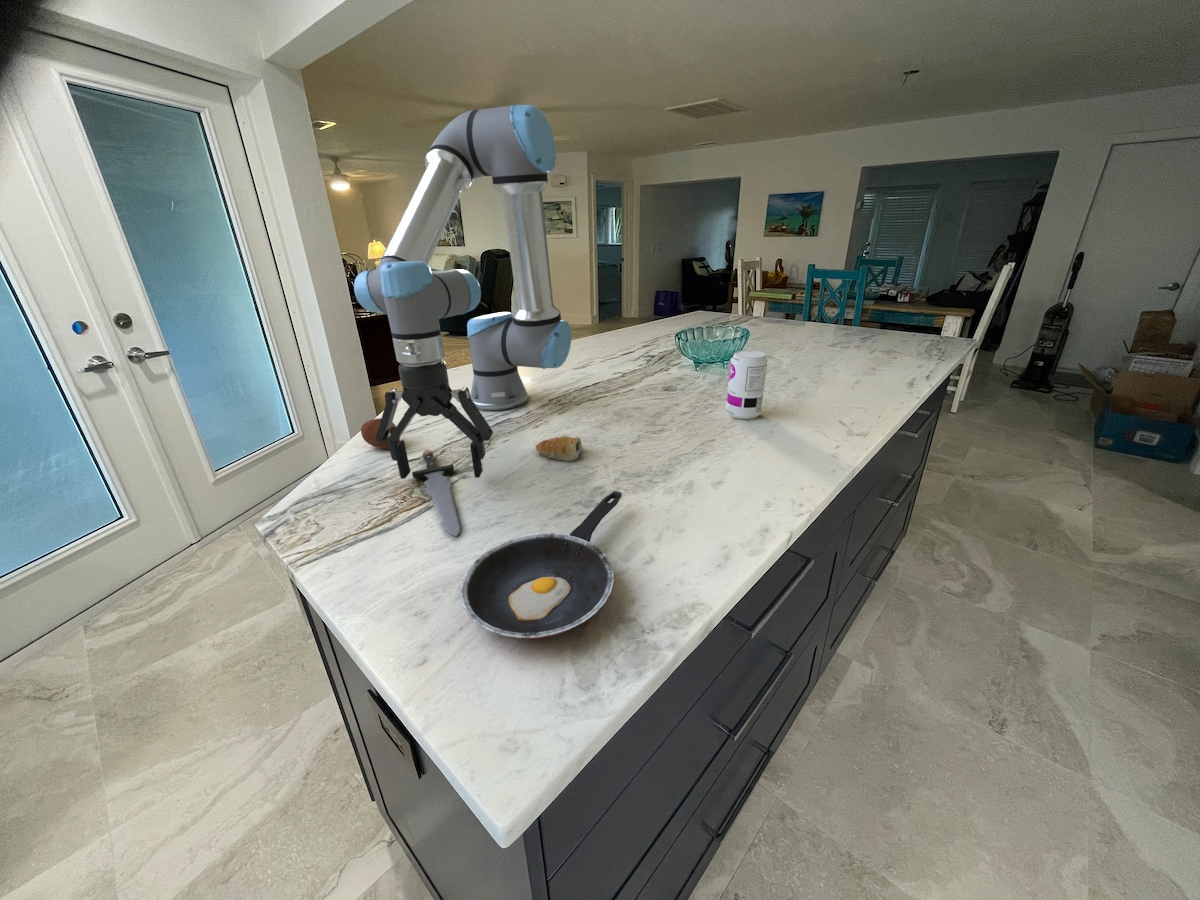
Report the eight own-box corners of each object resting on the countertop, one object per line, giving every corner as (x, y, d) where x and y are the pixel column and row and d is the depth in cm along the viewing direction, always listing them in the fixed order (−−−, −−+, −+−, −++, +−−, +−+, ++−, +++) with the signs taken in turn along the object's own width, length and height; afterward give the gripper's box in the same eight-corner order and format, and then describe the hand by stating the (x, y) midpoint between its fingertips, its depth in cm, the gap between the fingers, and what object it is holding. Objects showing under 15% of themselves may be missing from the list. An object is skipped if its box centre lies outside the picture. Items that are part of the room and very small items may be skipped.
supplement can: (723, 417, 113) (729, 356, 107) (728, 406, 120) (734, 348, 113) (758, 421, 110) (766, 359, 104) (761, 410, 117) (769, 350, 111)
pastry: (532, 459, 95) (530, 442, 94) (542, 445, 101) (541, 429, 100) (576, 462, 93) (575, 445, 92) (584, 448, 99) (583, 432, 98)
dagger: (439, 452, 99) (437, 443, 98) (498, 522, 75) (497, 511, 74) (402, 462, 95) (400, 453, 94) (452, 538, 71) (450, 527, 70)
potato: (376, 457, 98) (369, 428, 95) (359, 445, 104) (351, 418, 101) (408, 446, 102) (402, 419, 100) (389, 435, 108) (383, 409, 106)
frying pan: (430, 621, 56) (424, 597, 55) (570, 497, 81) (568, 478, 80) (563, 684, 48) (560, 658, 46) (672, 524, 73) (673, 504, 72)
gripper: (335, 368, 74) (366, 485, 83) (491, 365, 74) (505, 483, 83) (358, 357, 81) (384, 466, 90) (501, 355, 81) (512, 464, 90)
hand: (442, 475), depth 86 cm, fingers open, 13 cm apart
